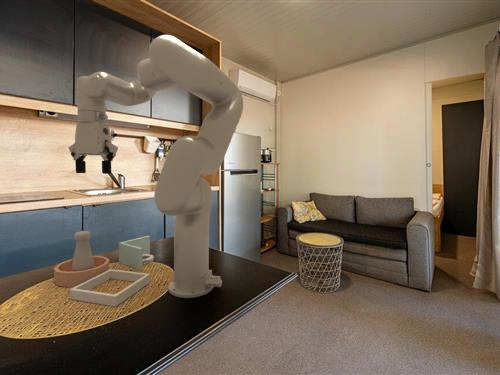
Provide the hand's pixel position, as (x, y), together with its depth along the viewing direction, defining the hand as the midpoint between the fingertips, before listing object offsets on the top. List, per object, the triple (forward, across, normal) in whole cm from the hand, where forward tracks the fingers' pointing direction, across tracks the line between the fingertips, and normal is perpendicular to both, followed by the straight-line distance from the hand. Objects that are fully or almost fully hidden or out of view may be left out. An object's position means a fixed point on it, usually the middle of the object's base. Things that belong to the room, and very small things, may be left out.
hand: (93, 173), depth 80 cm
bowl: (+32, 0, +5) cm, 32 cm away
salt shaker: (+31, 0, +5) cm, 31 cm away
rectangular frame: (+32, -15, +10) cm, 37 cm away
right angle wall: (+32, -10, -11) cm, 36 cm away
